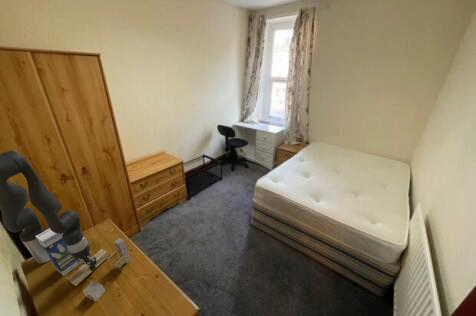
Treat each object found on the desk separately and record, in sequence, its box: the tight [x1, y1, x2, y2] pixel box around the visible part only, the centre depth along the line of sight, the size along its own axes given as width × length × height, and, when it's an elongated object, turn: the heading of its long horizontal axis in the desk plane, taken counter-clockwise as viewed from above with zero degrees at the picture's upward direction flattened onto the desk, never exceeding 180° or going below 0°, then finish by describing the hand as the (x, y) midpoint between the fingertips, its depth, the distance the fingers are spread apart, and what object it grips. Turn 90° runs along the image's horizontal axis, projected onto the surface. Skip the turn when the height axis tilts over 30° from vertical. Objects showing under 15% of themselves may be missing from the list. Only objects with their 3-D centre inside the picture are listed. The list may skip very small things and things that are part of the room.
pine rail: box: [67, 248, 110, 287], centre depth 104 cm, size 4×18×4 cm, turn 159°
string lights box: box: [35, 227, 81, 277], centre depth 103 cm, size 13×8×26 cm, turn 152°
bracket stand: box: [82, 237, 131, 302], centre depth 98 cm, size 7×22×16 cm, turn 161°
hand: (90, 267), depth 104 cm, fingers closed on pine rail, 4 cm apart
